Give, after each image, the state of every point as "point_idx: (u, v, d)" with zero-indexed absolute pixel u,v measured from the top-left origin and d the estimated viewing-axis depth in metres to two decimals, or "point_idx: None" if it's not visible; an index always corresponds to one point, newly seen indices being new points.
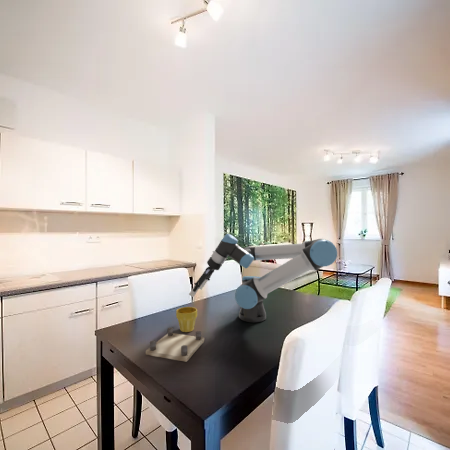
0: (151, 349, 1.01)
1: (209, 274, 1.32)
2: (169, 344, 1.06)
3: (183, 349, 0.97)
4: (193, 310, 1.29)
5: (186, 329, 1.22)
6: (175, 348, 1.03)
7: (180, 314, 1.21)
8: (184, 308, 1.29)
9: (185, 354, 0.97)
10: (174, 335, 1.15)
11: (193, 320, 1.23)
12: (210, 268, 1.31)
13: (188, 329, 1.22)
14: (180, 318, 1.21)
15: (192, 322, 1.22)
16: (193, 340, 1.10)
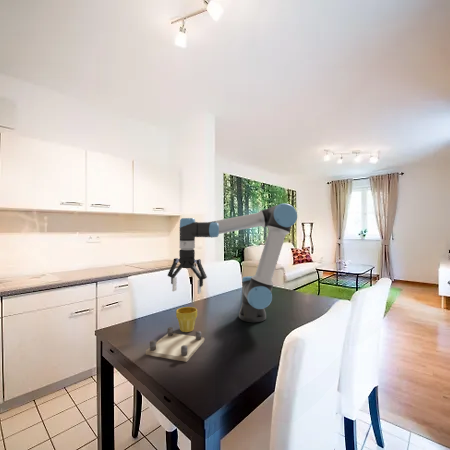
0: (151, 349, 1.01)
1: (193, 264, 1.26)
2: (169, 344, 1.06)
3: (183, 349, 0.97)
4: (193, 310, 1.29)
5: (186, 329, 1.22)
6: (175, 348, 1.03)
7: (180, 314, 1.21)
8: (184, 308, 1.29)
9: (185, 354, 0.97)
10: (174, 335, 1.15)
11: (193, 320, 1.23)
12: (194, 258, 1.24)
13: (188, 329, 1.22)
14: (180, 318, 1.21)
15: (192, 322, 1.22)
16: (193, 340, 1.10)
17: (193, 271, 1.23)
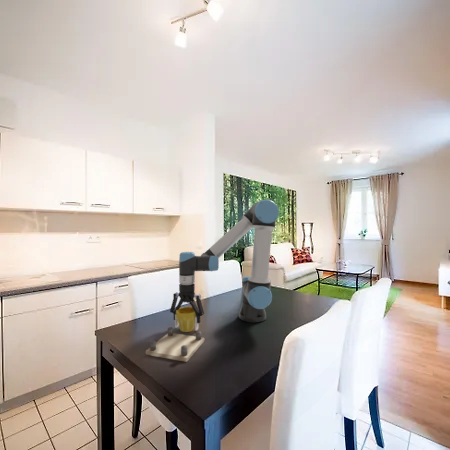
0: (151, 349, 1.01)
1: None
2: (169, 344, 1.06)
3: (183, 349, 0.97)
4: (193, 310, 1.29)
5: (186, 329, 1.22)
6: (175, 348, 1.03)
7: (180, 314, 1.21)
8: (184, 308, 1.29)
9: (185, 354, 0.97)
10: (174, 335, 1.15)
11: (193, 320, 1.23)
12: None
13: (188, 329, 1.22)
14: (180, 318, 1.21)
15: (192, 322, 1.22)
16: (193, 340, 1.10)
17: (192, 306, 1.23)
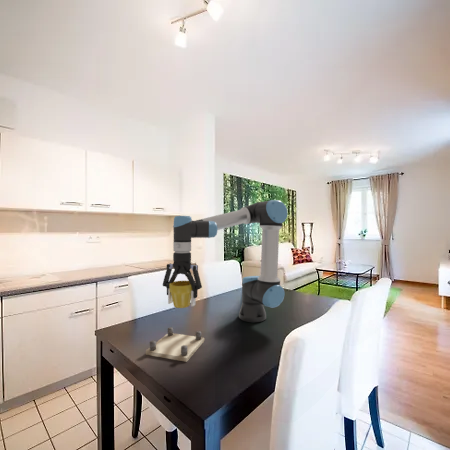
0: (151, 349, 1.01)
1: (189, 270, 1.08)
2: (169, 344, 1.06)
3: (183, 349, 0.97)
4: (189, 284, 1.11)
5: (180, 304, 1.04)
6: (175, 348, 1.03)
7: (174, 287, 1.03)
8: (179, 282, 1.12)
9: (185, 354, 0.97)
10: (174, 335, 1.15)
11: (189, 294, 1.05)
12: (190, 262, 1.07)
13: (183, 305, 1.04)
14: (173, 291, 1.03)
15: (188, 297, 1.05)
16: (193, 340, 1.10)
17: None
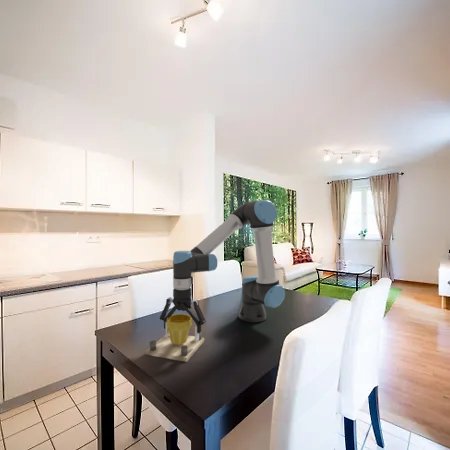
0: (151, 349, 1.01)
1: (190, 305, 1.07)
2: (169, 344, 1.06)
3: (183, 349, 0.97)
4: (187, 318, 1.10)
5: (177, 341, 1.03)
6: (175, 348, 1.03)
7: (171, 323, 1.02)
8: (177, 315, 1.11)
9: (185, 354, 0.97)
10: None
11: (186, 330, 1.04)
12: (190, 298, 1.05)
13: (180, 341, 1.03)
14: (171, 328, 1.02)
15: (185, 333, 1.04)
16: (193, 340, 1.10)
17: None
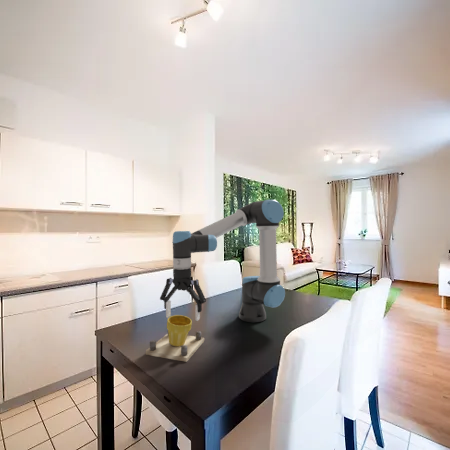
0: (151, 349, 1.01)
1: (190, 285, 1.07)
2: (169, 344, 1.06)
3: (183, 349, 0.97)
4: (187, 320, 1.10)
5: (176, 343, 1.03)
6: (175, 348, 1.03)
7: (171, 325, 1.02)
8: (177, 316, 1.11)
9: (185, 354, 0.97)
10: None
11: (185, 334, 1.04)
12: (190, 278, 1.05)
13: (178, 343, 1.04)
14: (171, 330, 1.02)
15: (184, 336, 1.04)
16: (193, 340, 1.10)
17: (190, 294, 1.04)
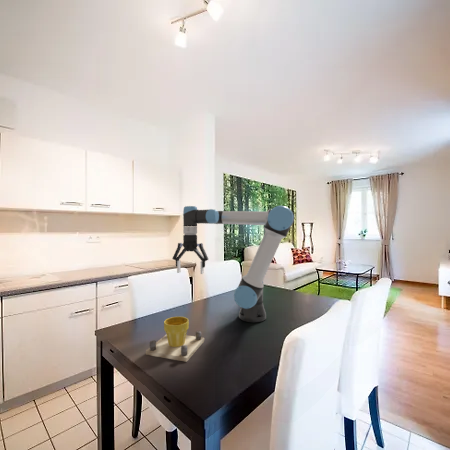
0: (151, 349, 1.01)
1: None
2: None
3: (183, 349, 0.97)
4: (184, 320, 1.10)
5: (175, 343, 1.03)
6: (175, 348, 1.03)
7: (168, 326, 1.02)
8: (174, 318, 1.11)
9: (185, 354, 0.97)
10: None
11: (184, 333, 1.05)
12: (196, 242, 1.38)
13: (178, 343, 1.04)
14: (168, 331, 1.02)
15: (182, 335, 1.04)
16: (193, 340, 1.10)
17: None
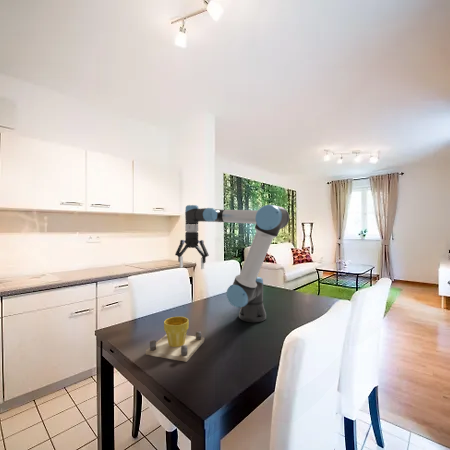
0: (151, 349, 1.01)
1: None
2: None
3: (183, 349, 0.97)
4: (184, 320, 1.10)
5: (175, 343, 1.03)
6: (175, 348, 1.03)
7: (168, 326, 1.02)
8: (174, 318, 1.11)
9: (185, 354, 0.97)
10: None
11: (184, 333, 1.05)
12: (197, 239, 1.46)
13: (178, 343, 1.04)
14: (168, 331, 1.02)
15: (182, 335, 1.04)
16: (193, 340, 1.10)
17: (197, 250, 1.45)
